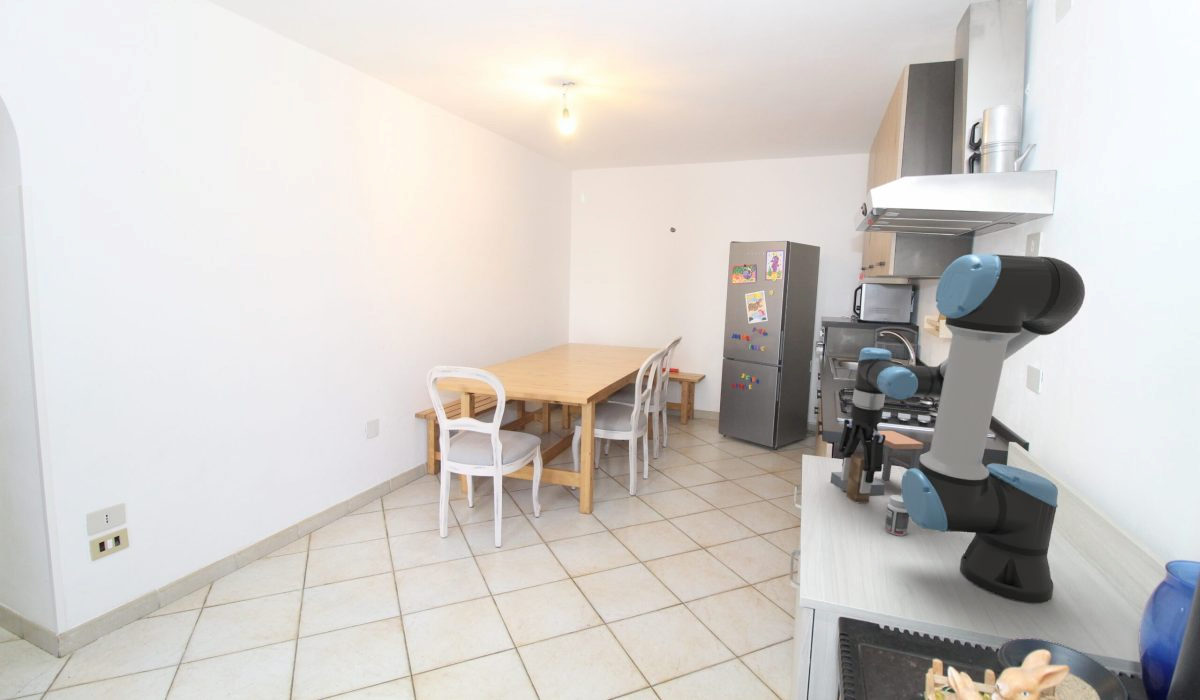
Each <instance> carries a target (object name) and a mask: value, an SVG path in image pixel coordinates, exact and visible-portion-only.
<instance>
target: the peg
mask: <svg viewBox="0 0 1200 700" xmlns="http://www.w3.org/2000/svg"><path fill="white" fill-rule="evenodd" d="M870 467H871V465H870ZM863 469H865V459H864V453H863V454H862V453H861V454H860V453H859V454H855V453H854V455H851V460H850V468H849V476H848V485H847V492H845V493H846V495H845V497H846V498H847V499H849V500H851V501H852V502H854V503H856V504H857V502H858V503H869V502H870V496H871V495H870V493H860V492H859V490H860V484H861V478H862V471H863Z"/></svg>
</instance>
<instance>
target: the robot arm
mask: <svg viewBox="0 0 1200 700" xmlns="http://www.w3.org/2000/svg"><path fill="white" fill-rule="evenodd" d="M1085 288H1086V287H1085V283H1084V281H1083V278H1082V276H1081V274H1080V273H1079V272H1078V270H1076V268H1074V267H1073V266H1072V265H1071V264H1069V263H1068V262H1066V261H1063V260H1062V259H1058V258H1055V257H1050V256H1031V255H1030V256H1029V255H1027V256H1026V255H1013V254H1011V255H1009V254H993V253H978V254H976V253H975V254H974V253H973V254H972V253H971V254H966V255H965V254H964V255H962V256H960V257H958V258H957V259H955V260H954V261H952V263H950V264H949V265H948V266H947V267H946V269H945V270H944V271H943V273H942V274H941V276H940V279H939V281H938V284H937V286H936V291H935V302H936V303H937V304H936V309H937V311H938V312H939V314H940V315H942V316H943V317H945V318H946V319H945V322H944V324H945V325H944V326H945V327H947V329H948V331H950V332H951V335H952V336H951V341H950V346H949V351H948V356H947V358H946V359H945V360H943V361H942V362H941V363H940V364H939V365H937V366H929V365H928V366H927V365H908V364H896V363H892V361H893V360H892V359H893V358H892V352H891V351H890V350H888V349H885V348H879V347H864V348H862V349H861V350H860V353H859V358H858V359H857V367H856V376H855V383H854V384H855V385H854V389H853V393H852V394H853V395H852V400H851V401H852V403H853V404H852V405H851V408H850V418H851V419H848V418H847V419H846V418H845V419H844V420H843V430H842V435H841V438H840V443H839V446H838V452H839V453H841V455H842V464H841V466H842V470H841V472H842V475H841V480H842V481H847V480H848V476H849V468H850V460H851V455H854V454H855V452H856V450H857V447H858V445H860V444H861V445H862V446H863V448H862V449H863V454H864V459H865V469H863V471H862V478H861V484H860V490H859V492H860V493H870V490H871V484H872V482H873V479H874V478H875V477H874V476H875V472H878V473H879V472H881V473H882V472H883V457H884V456H883V454H884V441H885V438H886V437H885V435H881V434H880V433H878V431H879V430H878V425H879V424H880V423H881V422H882V419H883V411H884V410H883V408H884V404H885V398H886V396H888V397H889V398H892V399H895V400H900V401H903V400H906V399H908V398H912V397H919V398H921V397H923V398H939V403H938V407H937V412H936V418H935V423H934V429H933V434H932V439H931V443H930V450H929V451H926V452H925V453H922V454H923V455H922V454H920V459H919V464H918V468H912V469H906V471H905V472H904V473H903V474H902V476H901V483H900V484H901V485H900V489H901V491H900V492H901V496H902V498H903V502H904V505H905V508H906V510H907V512H908V514H909V518H910V519H911V520H912V521H913V522H914V524H916V526H918V527H920V528H922V529H925V530H931V531H938V532H941V533H945V532H955V533H957V532H958V533H971V534H974V537H973V538H972V540H971V542H970V543H969V545H968V547H967V548H966V550H965V552H964V553H963V554H962V556H961V559H960V563H959V564H960V565H959V571H960V573H961V575H963V577H964V578H966V580H968V581H969V582H971V583H972V584H973V585H975V586H977V587H978V588H981V589H982V590H984V591H986V592H988V593H991V594H993V595H996V596H999V597H1001V598H1004V599H1009V600H1012V601H1015V602H1022V603H1028V604H1041V603H1046V602H1049V601H1050V600H1051V599H1052V598H1053V591H1054V583H1053V579H1052V576H1051V570H1050V569H1051V568H1050V564H1049V560H1048V553H1049V547H1050V542H1051V536H1052V530H1053V526H1054V522H1055V520H1054V519H1055V516H1056V513H1057V512H1056V511H1057V508H1058V495H1059V489H1058V488H1057V486H1056V484H1054V483H1053V481H1051V480H1050V479H1047V478H1045V477H1044V476H1041V475H1038V474H1037V473H1034V472H1031V471H1028V470H1026V469H1022V468H1019V467H1016V466H1011V465H1006V464H1002V463H995V462H991V463H989V464H987V465H986V466H985V465H984V464H983V458H984V453H985V448H986V444H987V440H988V434H989V431H990V425H991V423H992V422H991V421H992V416H993V413H994V412H993V411H994V407H995V403H996V398H997V393H998V389H999V385H1000V380H1001V375H1002V370H1003V366H1004V361H1005V360H1007V359H1008V358H1010V357H1011V356H1013V355H1014V354H1016V353H1017V352H1018V351H1020V350H1021V349H1023V348H1024V347H1025V346H1027V345H1028V344H1030V343H1031V342H1032V341H1034V340H1036V339H1037V338H1038V337H1040V336H1049V335H1052V334H1054V333H1055V332H1056V333H1057V331H1058V330H1060V329H1062V328H1063V327H1064V326H1065V325H1066V324H1068V323H1069V322H1070V321H1072V320H1073V319H1074V318H1075V316H1076V315H1077V314H1078V313H1079V311H1080V310H1081V308H1082V307H1083V304H1084V300H1085V295H1086V289H1085ZM870 465H871V467H870Z"/></svg>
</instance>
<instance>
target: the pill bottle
mask: <svg viewBox="0 0 1200 700" xmlns="http://www.w3.org/2000/svg"><path fill="white" fill-rule="evenodd" d="M886 507H887V508H886V515H885V522H884V529H885V531H886V532H888V533H890V534H891V535H895V536H898V537H899V536H900V537H901V536H905V535H907V534H908V528H909V520H910V516H909V514H908V512H907V510H906V508H905V505H904V502H903V498H902V495H899V494H891V495H890V496H889V503H888V504H887V506H886Z"/></svg>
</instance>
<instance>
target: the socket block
mask: <svg viewBox="0 0 1200 700" xmlns="http://www.w3.org/2000/svg"><path fill="white" fill-rule="evenodd" d="M841 475H842V471H834V472H833V471H831V474H830V483H831V484H833V485H835V486H836V487H838V488H839V489H840V490H842V489H843V490H842V491H844V492H845V491H846V492H845V493H847V485H848V480H847V481H842V480H841ZM885 490H886V483H883V482H882V481H880V480H878V479H877V478H875V477H874V479H873V482H872V484H871V490H870V496H879V495H880V496H882V495H885V492H886V491H885Z"/></svg>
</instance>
